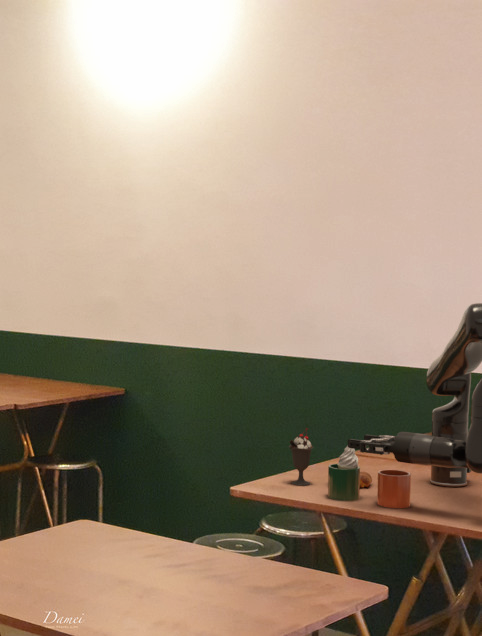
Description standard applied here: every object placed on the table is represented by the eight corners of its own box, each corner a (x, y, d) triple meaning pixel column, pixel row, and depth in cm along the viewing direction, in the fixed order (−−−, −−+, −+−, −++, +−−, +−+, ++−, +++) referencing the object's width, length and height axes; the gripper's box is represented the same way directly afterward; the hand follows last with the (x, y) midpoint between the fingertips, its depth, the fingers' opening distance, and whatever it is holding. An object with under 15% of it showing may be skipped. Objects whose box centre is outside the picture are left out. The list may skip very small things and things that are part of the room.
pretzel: (362, 480, 301) (362, 466, 301) (380, 488, 290) (380, 474, 290) (320, 481, 299) (321, 468, 299) (337, 490, 288) (338, 476, 288)
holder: (382, 499, 278) (383, 468, 277) (413, 503, 274) (414, 471, 273) (373, 505, 271) (374, 473, 271) (405, 509, 267) (405, 477, 267)
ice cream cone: (355, 500, 277) (361, 442, 275) (334, 497, 278) (340, 439, 276) (353, 495, 282) (359, 438, 280) (333, 492, 283) (339, 435, 281)
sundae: (315, 482, 298) (316, 427, 297) (310, 486, 292) (311, 431, 291) (291, 479, 301) (292, 426, 300) (285, 484, 295) (286, 429, 294)
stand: (333, 492, 286) (334, 462, 285) (363, 496, 282) (363, 465, 281) (323, 498, 279) (324, 467, 279) (353, 502, 275) (354, 470, 274)
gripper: (430, 430, 271) (369, 423, 282) (404, 437, 261) (342, 429, 272) (429, 460, 272) (369, 451, 283) (404, 468, 261) (342, 459, 272)
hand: (356, 441), depth 277 cm, fingers open, 8 cm apart
